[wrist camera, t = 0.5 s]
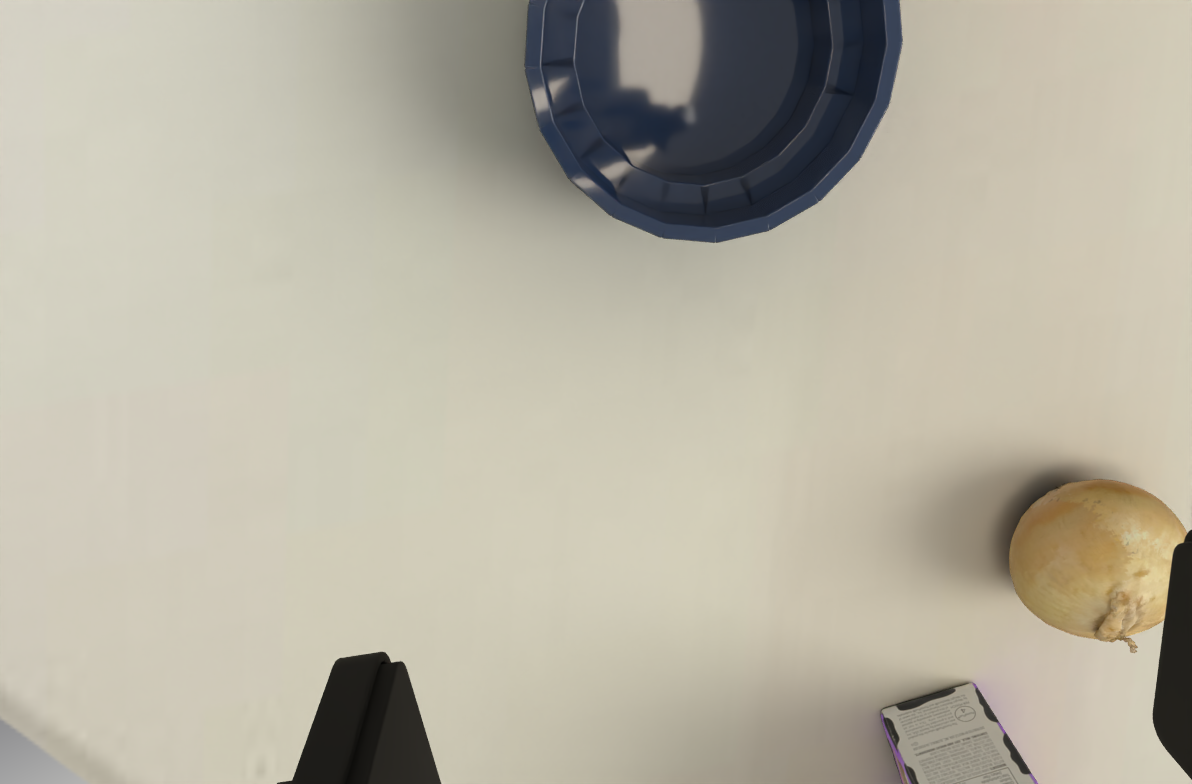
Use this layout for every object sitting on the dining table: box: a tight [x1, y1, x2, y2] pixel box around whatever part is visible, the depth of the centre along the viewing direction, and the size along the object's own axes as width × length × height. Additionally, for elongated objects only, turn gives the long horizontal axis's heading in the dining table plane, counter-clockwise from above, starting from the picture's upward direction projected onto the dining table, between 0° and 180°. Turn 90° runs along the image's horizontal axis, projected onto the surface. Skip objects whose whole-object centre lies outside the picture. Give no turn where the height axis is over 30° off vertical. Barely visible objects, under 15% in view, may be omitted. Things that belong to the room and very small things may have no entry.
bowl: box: [524, 0, 903, 243], centre depth 33 cm, size 13×13×6 cm
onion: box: [1009, 479, 1187, 653], centre depth 42 cm, size 8×8×7 cm
